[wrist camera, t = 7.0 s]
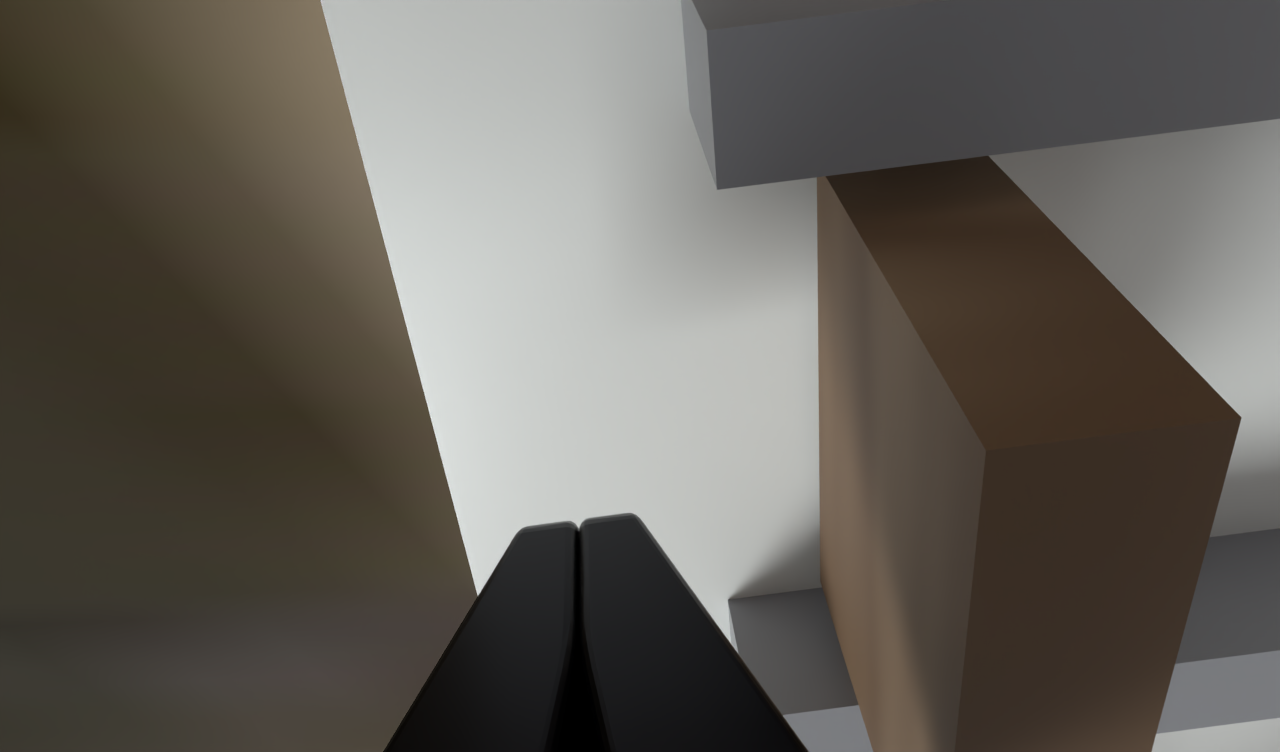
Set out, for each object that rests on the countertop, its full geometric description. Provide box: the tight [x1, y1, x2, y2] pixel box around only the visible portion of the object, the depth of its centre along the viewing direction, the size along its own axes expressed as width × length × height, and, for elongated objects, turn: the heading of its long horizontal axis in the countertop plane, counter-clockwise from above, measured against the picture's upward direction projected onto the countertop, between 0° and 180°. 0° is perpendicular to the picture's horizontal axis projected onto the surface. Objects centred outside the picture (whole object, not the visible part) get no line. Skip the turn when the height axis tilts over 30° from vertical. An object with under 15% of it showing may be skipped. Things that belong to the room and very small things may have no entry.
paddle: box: [817, 156, 1241, 752], centre depth 8 cm, size 1×4×4 cm, turn 5°
